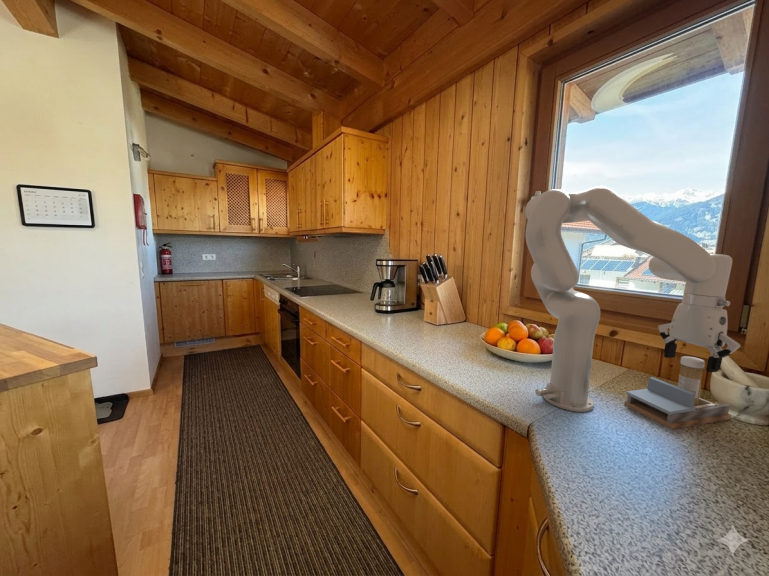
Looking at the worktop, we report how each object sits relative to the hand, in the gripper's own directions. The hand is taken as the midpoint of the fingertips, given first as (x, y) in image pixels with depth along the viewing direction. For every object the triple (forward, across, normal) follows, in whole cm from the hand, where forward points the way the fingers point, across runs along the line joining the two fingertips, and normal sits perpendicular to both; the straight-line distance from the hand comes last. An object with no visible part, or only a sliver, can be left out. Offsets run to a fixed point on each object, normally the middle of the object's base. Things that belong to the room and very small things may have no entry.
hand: (689, 364), depth 83 cm
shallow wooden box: (+13, -1, +3) cm, 13 cm away
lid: (+10, -1, +9) cm, 13 cm away
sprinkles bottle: (+12, 0, -1) cm, 12 cm away
